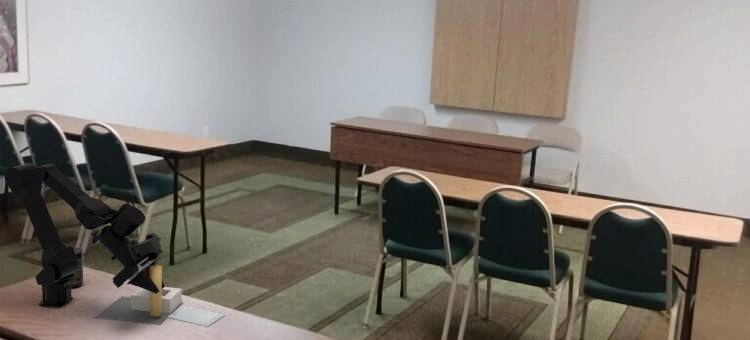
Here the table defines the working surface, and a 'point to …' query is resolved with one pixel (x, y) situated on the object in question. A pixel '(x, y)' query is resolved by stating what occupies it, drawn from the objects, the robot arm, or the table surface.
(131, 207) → the robot arm
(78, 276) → the supplement container
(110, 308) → the mat
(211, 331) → the table surface
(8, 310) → the table surface
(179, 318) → the hard drive
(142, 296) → the hole block
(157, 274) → the peg
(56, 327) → the table surface
